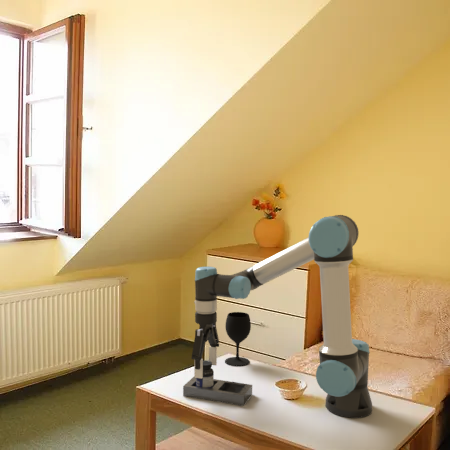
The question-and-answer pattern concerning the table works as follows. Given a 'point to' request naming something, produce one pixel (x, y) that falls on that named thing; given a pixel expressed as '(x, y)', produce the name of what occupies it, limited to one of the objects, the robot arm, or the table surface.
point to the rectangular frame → (220, 391)
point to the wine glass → (237, 335)
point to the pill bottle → (206, 376)
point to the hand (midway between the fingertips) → (205, 371)
